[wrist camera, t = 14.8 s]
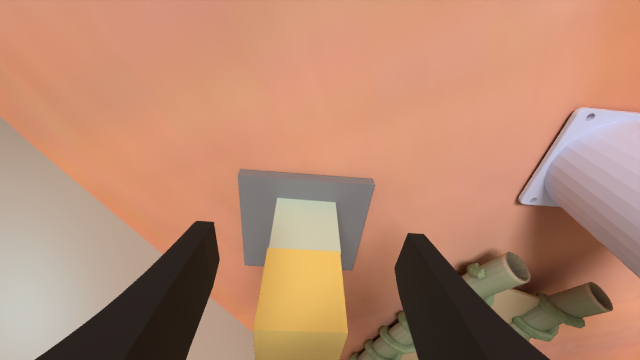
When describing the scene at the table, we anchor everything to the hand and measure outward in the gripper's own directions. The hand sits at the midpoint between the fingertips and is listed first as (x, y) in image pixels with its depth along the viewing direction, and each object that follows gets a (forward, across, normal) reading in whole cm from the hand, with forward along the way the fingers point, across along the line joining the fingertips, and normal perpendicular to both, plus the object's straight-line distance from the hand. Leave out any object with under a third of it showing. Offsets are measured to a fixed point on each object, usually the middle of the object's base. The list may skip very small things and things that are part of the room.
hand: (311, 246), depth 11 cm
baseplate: (+10, 0, +9) cm, 13 cm away
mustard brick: (+4, 0, +8) cm, 10 cm away
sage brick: (+10, 0, +8) cm, 13 cm away
